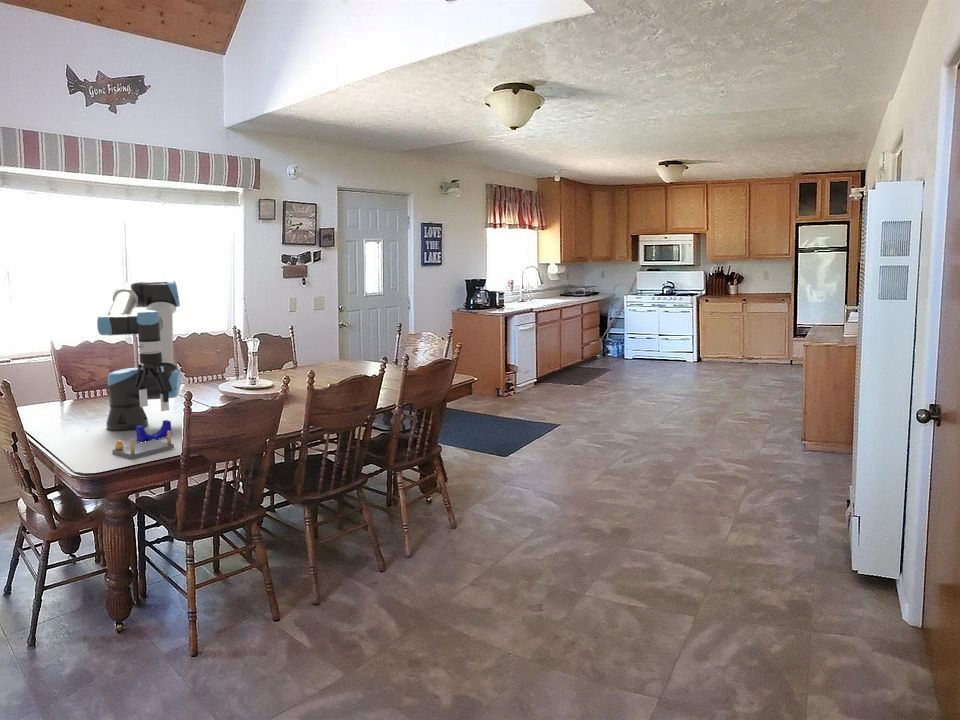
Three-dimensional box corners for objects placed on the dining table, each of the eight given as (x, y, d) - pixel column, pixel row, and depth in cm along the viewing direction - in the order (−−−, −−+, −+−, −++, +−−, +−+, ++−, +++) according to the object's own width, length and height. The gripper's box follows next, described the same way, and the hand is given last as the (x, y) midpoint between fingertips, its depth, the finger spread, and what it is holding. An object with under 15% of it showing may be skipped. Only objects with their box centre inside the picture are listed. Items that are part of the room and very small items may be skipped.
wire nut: (113, 447, 251) (114, 440, 250) (120, 447, 253) (121, 439, 252) (117, 449, 249) (118, 442, 249) (123, 449, 251) (125, 441, 251)
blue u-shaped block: (143, 443, 265) (141, 428, 264) (137, 441, 267) (135, 426, 266) (173, 436, 274) (172, 421, 273) (167, 435, 277) (166, 420, 276)
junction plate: (112, 453, 251) (111, 435, 250) (154, 443, 264) (153, 426, 263) (132, 459, 244) (130, 440, 243) (174, 448, 258) (173, 430, 257)
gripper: (121, 351, 269) (126, 406, 272) (161, 356, 255) (165, 414, 258) (140, 349, 275) (144, 403, 278) (179, 353, 261) (183, 410, 264)
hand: (154, 408), depth 268 cm, fingers open, 13 cm apart
